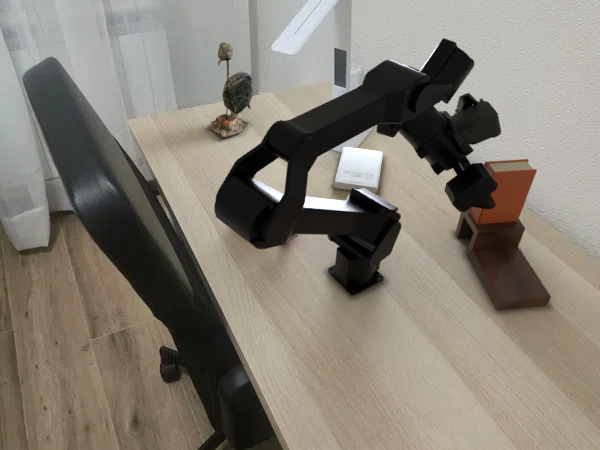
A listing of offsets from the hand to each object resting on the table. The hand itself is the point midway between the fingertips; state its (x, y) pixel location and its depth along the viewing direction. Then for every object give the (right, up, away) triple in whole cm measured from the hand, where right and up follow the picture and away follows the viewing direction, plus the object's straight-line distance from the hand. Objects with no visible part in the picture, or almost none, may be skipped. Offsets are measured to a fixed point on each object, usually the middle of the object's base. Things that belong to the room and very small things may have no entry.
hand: (480, 188), depth 85 cm
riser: (+4, -12, +5) cm, 14 cm away
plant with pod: (-43, +16, +35) cm, 57 cm away
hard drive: (-16, +4, +24) cm, 29 cm away
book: (+4, -4, +5) cm, 7 cm away
